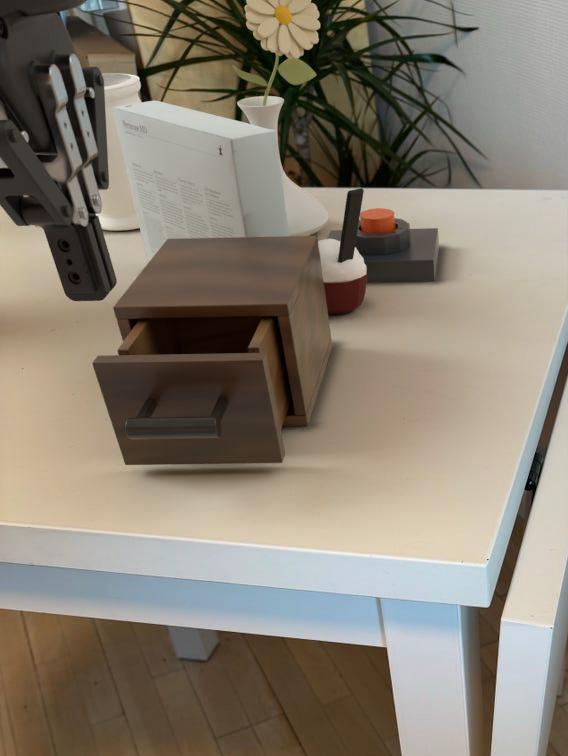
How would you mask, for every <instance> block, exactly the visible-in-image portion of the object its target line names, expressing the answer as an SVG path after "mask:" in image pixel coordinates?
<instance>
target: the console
mask: <svg viewBox="0 0 568 756" xmlns="http://www.w3.org/2000/svg"><path fill="white" fill-rule="evenodd" d="M410 227H411V225H410V223H409V222H408V221H406V220H404V219H401V218H396V217H395V230H393V231H391V232H386V233H381V234H369V233H364V232H362V231H361V222H360V219H359V224H358V231H357V237H356V244H355V247H356V248H357V250H358V252H359V254H360V255H361V256H362V257H363V259H364V263H365V265H366V268H367V284H368V283H410V282H412V283H413V282H415V283H417V282H435V281H436V273H437V267H438V260H439V259H438V258H439V252H440V239H439V228H437V227H431V228H430V227H427V228H410ZM341 235H342V229H337V230H336V229H335V230H334V229H332V230H330V231H329V233H328V235H327V238H326V239H335V240H338V241H340V242H341Z"/></svg>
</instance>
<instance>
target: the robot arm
mask: <svg viewBox="0 0 568 756" xmlns="http://www.w3.org/2000/svg"><path fill="white" fill-rule="evenodd" d="M87 1H88V0H0V207H1V208H2V209H3V210H4V211H5V213H6V214H7V215H8V217H9V218H10V219H11V221H13V223H14V224H15V225H16V226H18V227H30V226H34V227H35V228H37V229H39V228H41V229H42V230H43V232H44V235H45V238H46V241H47V244H48V248H49V250H50V253H51V256H52V260H53V262H54V265H55V269H56V272H57V274H58V275H57V276H58V278H59V280H60V284H61V286H62V290H63V292H64V295H65V296H66V297H67V298H68V299H69V300H71V301H73V302H101V301H103V300H105V298H107V296H108V295H109V294H110V293H111V291H113V289H114V288H115V287H116V285H117V284H118V283H117V282H118V281H117V276H116V273H115V269H114V266H113V262H112V259H111V255H110V252H109V248H108V245H107V241H106V237H105V235H104V230H103V229H102V227H101V224H100V220H99V217H98V216H96V214H99V213H101V210H102V202H101V198H100V194H99V190H107V189H108V187H109V173H108V153H107V133H106V113H105V93H104V79H103V76H102V74H101V73H102V72H101V69H100V68H99V67H98V66H82V64H81V62H80V60H79V59H80V58H78V56H77V55H76V54H75V48H74V44H73V41H72V38H71V35H70V33H69V31H68V29H67V27H66V24H65V23H64V22H65V21H64V20H63V18H62V15H61V12H65V11H69V10H72V9H76V8H79V7H81V6H82V5H84V4H85V3H86V2H87Z"/></svg>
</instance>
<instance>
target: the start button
mask: <svg viewBox="0 0 568 756" xmlns="http://www.w3.org/2000/svg"><path fill="white" fill-rule="evenodd" d="M395 218H396V217H395V212H394V210H392V209H390V208H384V207H383V208H382V207H381V208H380V207H379V208H369V209H367V210H365V209H364V210H363V211H361V212H360V218H359V220H360V222H361V231H362V232H364V233H369V234H381V233H386V232H391V231H393V230H395Z"/></svg>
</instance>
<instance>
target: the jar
mask: <svg viewBox="0 0 568 756" xmlns="http://www.w3.org/2000/svg"><path fill="white" fill-rule="evenodd" d="M101 74H102V76H103V79H104V93H105V113H106V133H107V153H108V173H109V187H108V189H107V190H99V194H100V198H101V202H102V210H101V213H99V214H96V216H98V217H99V220H100V224H101V227H102V230H103V231H104V230H105V231H113V232H115V231H116V232H117V231H132V230H137V229H140V226H139V221H138V216H137V214H136V211H135V206H134V202H133V197H132V192H131V188H130V183H129V179H128V175H127V169H126V165H125V160H124V156H123V152H122V148H121V144H120V139H119V135H118V131H117V126H116V122H115V117H114V114H113V110H112V107H116V106H122V105H129V104H135V103H141V102H142V100H141V98H140V97H139V92H140V90H141V87H142V84H141V81H140V78H141V77H139V76H138V75H135V74H129V73H118V72H101Z"/></svg>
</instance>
